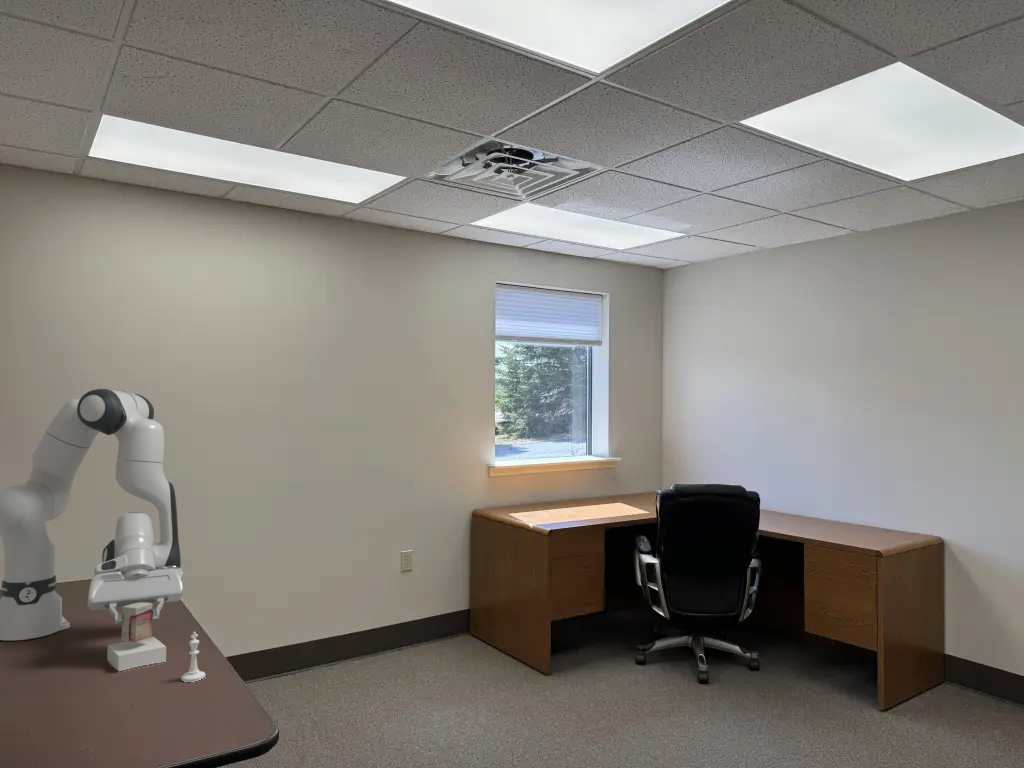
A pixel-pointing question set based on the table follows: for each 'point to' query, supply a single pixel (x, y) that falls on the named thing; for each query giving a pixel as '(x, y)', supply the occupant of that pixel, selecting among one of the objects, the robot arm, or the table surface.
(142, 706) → the table surface
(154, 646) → the off-white block
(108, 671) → the table surface
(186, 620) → the table surface
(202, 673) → the chess piece
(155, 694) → the table surface
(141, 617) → the small box
